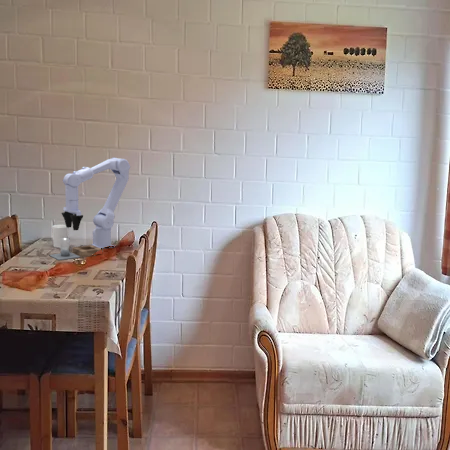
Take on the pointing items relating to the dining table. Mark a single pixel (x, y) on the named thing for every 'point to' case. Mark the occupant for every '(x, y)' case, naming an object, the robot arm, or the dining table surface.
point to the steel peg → (65, 246)
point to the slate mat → (59, 257)
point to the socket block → (85, 250)
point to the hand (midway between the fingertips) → (72, 228)
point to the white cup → (59, 234)
